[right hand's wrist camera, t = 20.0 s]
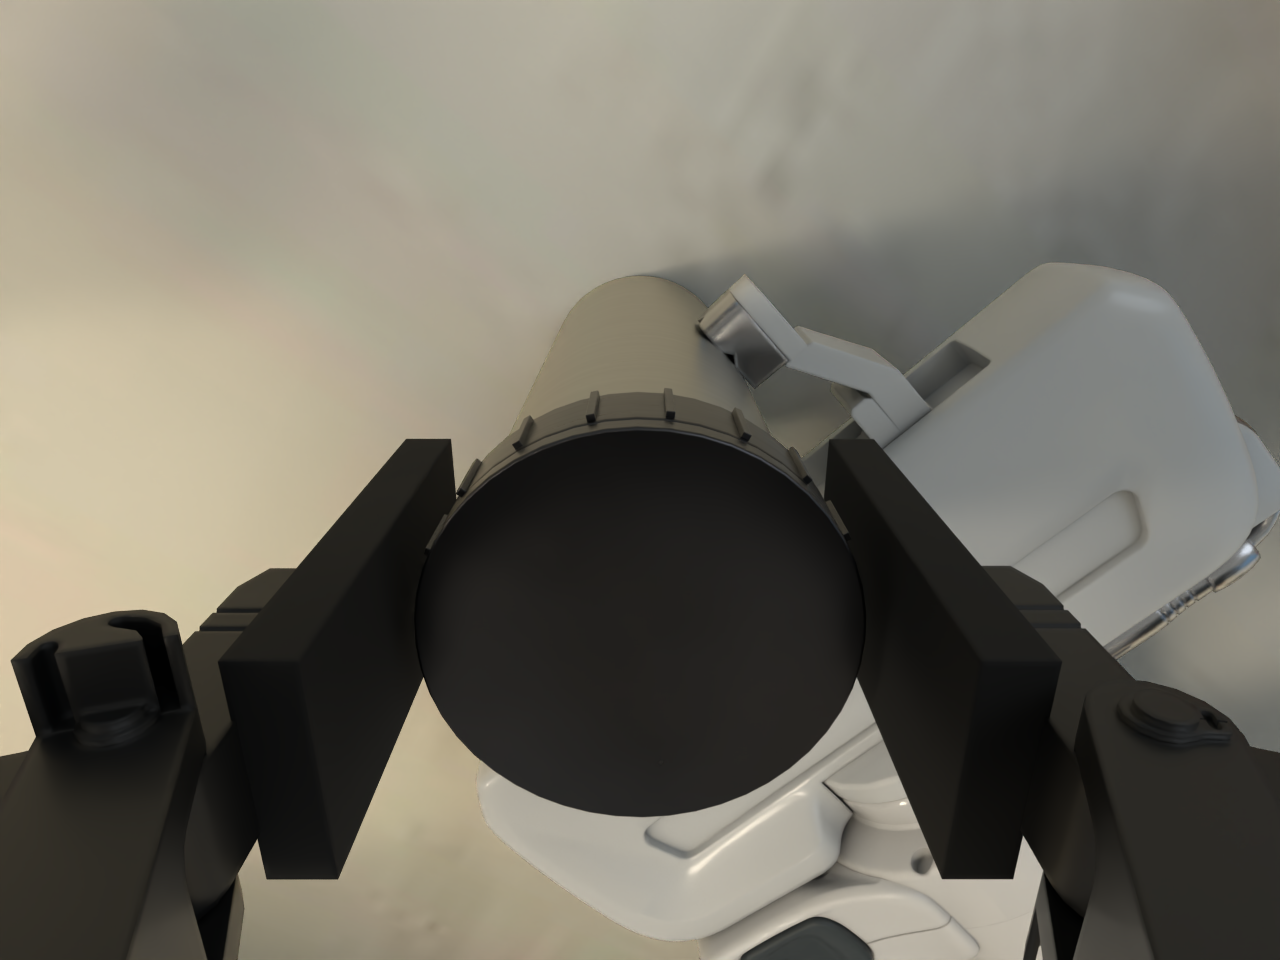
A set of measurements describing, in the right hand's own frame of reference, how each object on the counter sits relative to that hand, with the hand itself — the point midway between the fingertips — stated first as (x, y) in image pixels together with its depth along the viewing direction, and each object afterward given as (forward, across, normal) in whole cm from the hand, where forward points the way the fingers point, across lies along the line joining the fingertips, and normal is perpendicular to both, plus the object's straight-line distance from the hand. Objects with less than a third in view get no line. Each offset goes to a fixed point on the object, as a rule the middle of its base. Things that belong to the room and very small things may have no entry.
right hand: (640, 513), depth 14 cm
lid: (-4, 0, 0) cm, 4 cm away
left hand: (+5, -1, +1) cm, 5 cm away
